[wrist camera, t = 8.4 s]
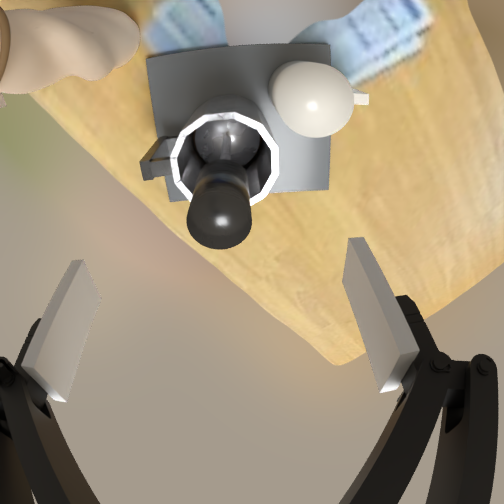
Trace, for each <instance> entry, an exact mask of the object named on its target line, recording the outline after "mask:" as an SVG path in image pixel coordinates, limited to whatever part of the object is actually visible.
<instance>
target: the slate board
mask: <svg viewBox="0 0 504 504" xmlns="http://www.w3.org/2000/svg"><path fill="white" fill-rule="evenodd" d="M297 60H299V61H308V62H315V63H321V64H326V65H329V66H331V55H330V45H327V44H255V45H239V46H227V47H217V48H208V49H200V50H193V51H186V52H180V53H174V54H168V55H163V56H158V57H153V58H148V59H146V65H147V72H148V80H149V87H150V94H151V100H152V107H153V113H154V119H155V125H156V131H157V137H158V138H159V137H161V136H167V135H168V137H171V136H178V135H179V134H180V132H181V130H182V129H183V127H184V126H185V125H186V123H187V122H188V120H189V119H190V117H191V116H192V115H193V113H194V112H195V110H196V109H197V108H198V107H200V106H201V105H202V104H204V103H205V102H207V101H208V100H210V99H211V98H212V97H214V96H223V95H234V94H236V95H238V96H240V97H243V98H245V99H247V100H249V101H251V102H254V103H255V104H256V105H257V107H258V108H259V110H260V111H261V113H262V114H263V115H264V117H265V118H266V120H267V122H268V125H269V127H270V129H271V132H272V134H273V137H274V139H275V142H276V144H277V146H278V166H279V175H278V176H277V178H276V180H275V181H274V183H273V185H272V187H271V188H270V190H269V192H268V193H279V192H295V191H314V190H329V170H330V141H331V135H329V136H326V137H320V138H311V137H306V136H303V135H300V134H298V133H296V132H295V131H293V130H292V129H290V128H289V127H288V126H287V125H286V124H285V122H284V121H283V120H282V118H281V116H280V115H279V113H278V112H277V110H276V109H275V107H274V106H273V104H272V103H271V101H270V98H269V94H268V84H269V80H270V78H271V76H272V74H273V73H274V71H275V70H276V69H277V68H278V67H280V66H281V65H283V64H285V63H287V62H290V61H297ZM171 154H172V151H170V152H169V154H168V156H171ZM168 156H167V157H168ZM165 180H166V185H167V190H168V195H169V200H170V202H176V201H185V200H189V199H188V198H187V197H186V196H185V195H184V194H183V192H182V191H181V190H180V189H179V188H178V187H177V186H176V184H175V183H174V177H173V175H168V176H165Z"/></svg>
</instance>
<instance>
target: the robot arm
mask: <svg viewBox="0 0 504 504" xmlns="http://www.w3.org/2000/svg"><path fill="white" fill-rule="evenodd" d="M342 282H343V285H344V288H345V291H346V293H347V296H348V299H349V301H350V304H351V307H352V310H353V313H354V315H355V318H356V321H357V324H358V327H359V330H360V333H361V336H362V339H363V342H364V345H365V348H366V351H367V354H368V357H369V360H370V363H371V366H372V369H373V372H374V376H375V379H376V382H377V385H378V389H379V392H380V393H382V392H387V391H391V390H395V389H397V388H398V386H399V385H400V383H402V386H403V388H404V391H403V392H402V394H401V395H400V397H399V398H398V400H397V402H398V403H397V405H396V407H395V409H394V411H393V413H392V415H391V417H390V419H389V421H388V423H387V425H386V427H385V429H384V431H383V433H382V434H381V436H380V438H379V440H378V442H377V444H376V446H375V447H374V449H373V451H372V452H371V454H370V456H369V458H368V459H367V461H366V463H365V464H364V466H363V467H362V469H361V471H360V472H359V474H358V476H357V477H356V479H355V480H354V482H353V483H352V485H351V486H350V488H349V490H348V491H347V492H346V494H345V495H344V497H343V498H342V500H341V501H340V503H339V504H398V502H399V500H400V499H401V497H402V495H403V493H404V491H405V489H406V487H407V486H408V484H409V482H410V480H411V478H412V476H413V474H414V472H415V470H416V468H417V466H418V464H419V462H420V459H421V457H422V455H423V453H424V451H425V448H426V446H427V443H428V441H429V439H430V436H431V434H432V431H433V429H434V427H435V424H436V421H437V419H438V416H439V413H440V410H441V408H442V407H443V412H442V421H441V429H440V436H439V443H438V449H437V455H436V460H435V465H434V471H433V475H432V480H431V485H430V489H429V493H428V497H427V501H426V504H489V503H490V498H491V493H492V487H493V479H494V472H495V462H496V452H497V438H498V377H497V367H496V364H495V362H494V361H493V359H492V358H490V357H489V356H487V355H485V354H478V355H476V356H474V357H473V359H472V360H471V361H454V360H451V359H450V357H449V356H448V355H446V354H445V353H443V352H440V351H439V350H438V348H437V346H436V344H435V342H434V340H433V338H432V336H431V334H430V331H429V329H428V327H427V325H426V323H425V322H424V319H423V317H422V315H421V314H420V311H419V309H418V308H417V306H416V304H415V302H414V301H413V300H411V299H410V298H409V297H408V296H407V295H403V296H396V297H395V296H394V294H393V292H392V290H391V288H390V286H389V284H388V282H387V280H386V278H385V276H384V274H383V272H382V270H381V268H380V266H379V264H378V263H377V261H376V259H375V257H374V255H373V253H372V251H371V250H370V248H369V246H368V244H367V242H366V241H365V239H364V237H357V238H349V239H348V247H347V254H346V260H345V267H344V273H343V279H342ZM101 299H102V298H101V295H100V293H99V291H98V290H97V288H96V285H95V283H94V281H93V279H92V277H91V275H90V272H89V270H88V268H87V266H86V264H85V261H84V260H74V261H72V262H71V263H70V265H69V267H68V269H67V271H66V272H65V274H64V276H63V278H62V279H61V281H60V283H59V285H58V287H57V289H56V291H55V293H54V295H53V296H52V298H51V300H50V303H49V304H48V306H47V308H46V310H45V312H44V314H43V317H42V319H41V318H39V319H38V320H37V321H36V322H35V323H34V324H33V326H32V327H31V329H30V331H29V333H28V337H26V340H25V344H23V347H22V349H21V351H20V353H19V356H18V358H17V360H16V363H15V365H14V366H13V365H12V364H11V363H10V362H9V361H8V359H7V358H5V357H0V504H35V503H34V499H33V495H32V492H33V494H34V496H35V499H36V501H37V503H38V504H100V503H99V501H98V500H97V498H96V496H95V495H94V493H93V491H92V490H91V488H90V486H89V485H88V483H87V481H86V479H85V478H84V476H83V474H82V472H81V470H80V469H79V467H78V465H77V463H76V461H75V459H74V457H73V455H72V453H71V451H70V449H69V447H68V445H67V443H66V441H65V439H64V437H63V434H62V432H61V430H60V428H59V425H58V423H57V421H56V418H55V416H54V413H53V411H52V409H51V406H50V404H49V402H48V401H47V400H46V398H47V394H49V395H50V396H51V397H52V398H53V399H54V400H56V401H62V402H67V401H68V398H69V394H70V390H71V387H72V384H73V380H74V377H75V373H76V370H77V367H78V364H79V361H80V357H81V354H82V351H83V349H84V346H85V343H86V340H87V337H88V334H89V331H90V328H91V325H92V323H93V320H94V317H95V315H96V312H97V309H98V307H99V304H100V301H101ZM31 490H32V491H31Z"/></svg>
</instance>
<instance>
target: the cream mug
mask: <svg viewBox="0 0 504 504" xmlns="http://www.w3.org/2000/svg"><path fill="white" fill-rule="evenodd" d="M268 94H269V98H270V101H271V103H272V104H273V106H274V107H275V109H276V110H277V112H278V113H279V115H280V116H281V118H282V120H283V121H284V122H285V124H286V125H287V126H288V127H289V128H290V129H292V130H293V131H295V132H296V133H298V134H300V135H303V136H306V137H311V138H320V137H326V136H329V135H332V134H334V133H336V132H337V131H339V130H340V129H341V128H342V127H343V126H344V125H345V124H346V123H347V122H348V120H349V119H350V117H351V114H352V112H353V108H354V104H360V105H369V94H367V93H364V92H362V91H359V90H357V89H352V87H351V85H350V83H349V81H348V80H347V78H346V77H345V76H344V75H343V74H342V73H341V72H340V71H338V70H337V69H335V68H333V67H331V66H329V65H326V64H321V63H315V62H308V61H299V60H297V61H290V62H287V63H285V64H283V65H281V66H280V67H278V68H277V69H276V70H275V71H274V73H273V74H272V76H271V78H270V80H269V84H268Z"/></svg>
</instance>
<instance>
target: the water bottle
mask: <svg viewBox="0 0 504 504" xmlns="http://www.w3.org/2000/svg"><path fill="white" fill-rule="evenodd" d="M139 43H140V31H139V28H138V25H137V24H136V23H135V22H134V21H133V20H132V19H131V18H130V17H129V16H128V15H126V14H125V13H124V12H122V11H119V10H116V9H112V8H107V7H99V6H88V5H86V6H70V7H58V8H52V9H47V10H43V11H38V10H33V9H15V10H6V11H4V10H3V9H2V8H1V7H0V108H2V107H6V106H7V105H6V103H5V100H4V98H3V95H2V93H12V94H25V93H30V92H34V91H37V90H40V89H43V88H45V87H48V86H50V85H52V84H54V83H56V82H58V81H59V80H61V79H63V78H65V77H67V76H78V77H81V78H83V79H85V80H88V81H97V80H100V79H102V78H104V77H105V76H107V75H108V74H109V73H110V72H111V71H112V70H113V69H116V68H119V67H121V66H123V65H125V64H126V63H127V62H129V61H130V60H131V59H132V57H133V56H134V55H135V53H136V51H137V49H138V47H139Z"/></svg>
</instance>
